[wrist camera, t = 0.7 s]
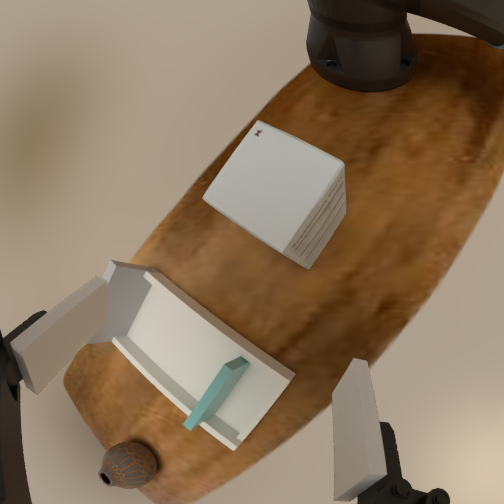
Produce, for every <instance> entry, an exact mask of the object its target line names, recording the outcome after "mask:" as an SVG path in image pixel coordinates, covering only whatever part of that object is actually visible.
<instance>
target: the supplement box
mask: <svg viewBox="0 0 504 504" xmlns="http://www.w3.org/2000/svg"><path fill="white" fill-rule="evenodd" d="M344 170H345V164H344V163H343V162H342V161H341V160H339V159H337V158H336V157H334V156H332V155H330V154H328V153H326V152H324V151H322V150H320V149H318V148H316V147H314V146H312V145H310V144H308V143H306V142H304V141H302V140H301V139H299V138H297V137H295V136H292V135H290V134H288V133H286V132H283V131H281V130H279V129H277V128H275V127H272V126H270V125H268V124H266V123H264V122H262V121H259V120H258V121H257V122H256V123H255V124H254V126H253V127H252V128H251V130H250V131H249V132H248V134H247V135H246V136H245V138H244V139H243V140H242V142H241V143H240V144H239V146H238V147H237V148H236V150H235V151H234V153H233V154H232V155H231V157H230V158H229V160H228V161H227V162H226V164H225V165H224V166H223V168H222V169H221V171H220V172H219V174H218V175H217V176H216V178H215V179H214V181H213V182H212V184H211V185H210V186H209V188H208V189H207V191H206V193H205V194H204V196H203V200H204V201H205V202H207V203H208V204H209V205H211V206H212V207H213V208H215V209H216V210H218V211H219V212H220V213H222V214H223V215H224V216H226V217H227V218H228V219H230V220H231V221H233V222H234V223H235V224H237V225H238V226H240V227H241V228H243V229H244V230H246V231H247V232H249V233H250V234H251V235H253V236H254V237H256V238H258V239H259V240H261V241H262V242H264V243H265V244H267V245H268V246H270V247H272V248H273V249H275V250H277V251H278V252H280V253H281V254H283V255H284V256H286V257H288V258H289V259H291V260H292V261H294V262H296V263H297V264H299V265H301V266H302V267H304V268H306V269H307V270H310V268H311V267H312V265H313V264H314V262H315V261H316V259H317V258H318V256H319V255H320V253H321V252H322V250H323V249H324V247H325V246H326V244H327V243H328V241H329V240H330V238H331V237H332V235H333V234H334V232H335V231H336V229H337V227H338V226H339V224H340V223H341V221H342V220H343V218H344V217H345V215H346V188H345V171H344Z"/></svg>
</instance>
